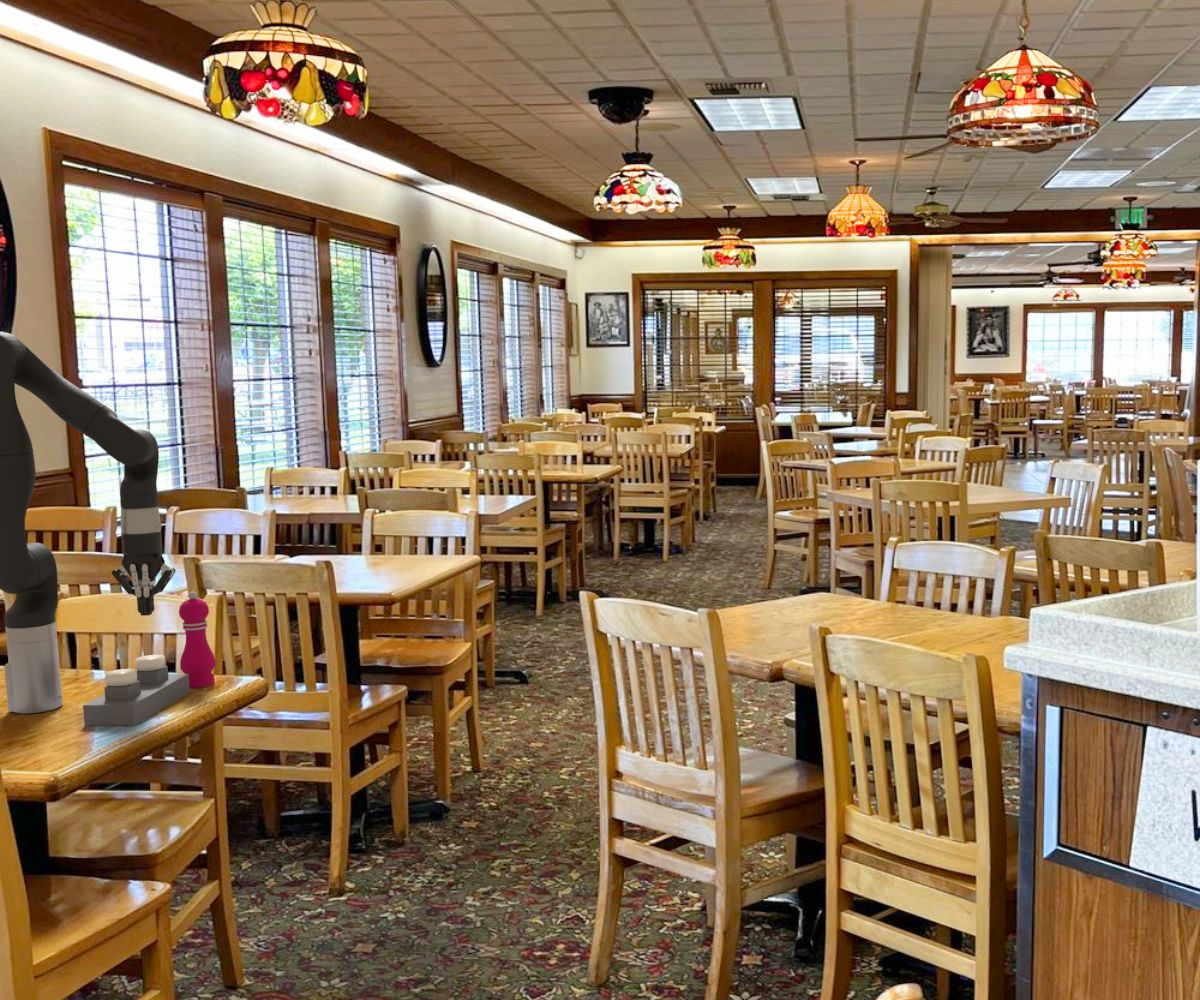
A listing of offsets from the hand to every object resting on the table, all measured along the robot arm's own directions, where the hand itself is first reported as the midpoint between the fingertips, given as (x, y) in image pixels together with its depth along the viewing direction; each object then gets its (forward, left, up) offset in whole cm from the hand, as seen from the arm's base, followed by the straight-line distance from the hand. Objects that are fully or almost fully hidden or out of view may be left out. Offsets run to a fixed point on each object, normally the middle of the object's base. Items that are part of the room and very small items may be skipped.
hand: (146, 614), depth 258 cm
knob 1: (0, -12, -13) cm, 18 cm away
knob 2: (0, 0, -13) cm, 13 cm away
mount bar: (0, -6, -18) cm, 19 cm away
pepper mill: (+4, +13, -18) cm, 22 cm away
